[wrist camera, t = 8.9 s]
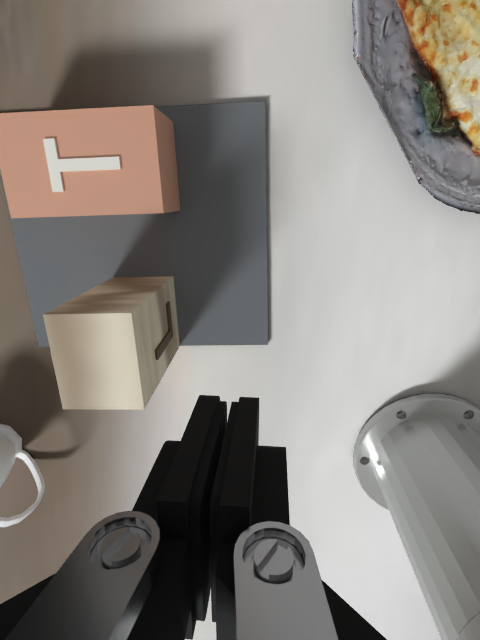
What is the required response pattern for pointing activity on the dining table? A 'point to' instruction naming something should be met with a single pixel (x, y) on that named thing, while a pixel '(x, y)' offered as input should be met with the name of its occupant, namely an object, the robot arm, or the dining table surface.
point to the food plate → (427, 87)
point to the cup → (3, 449)
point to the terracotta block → (89, 162)
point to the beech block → (114, 342)
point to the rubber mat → (174, 234)
